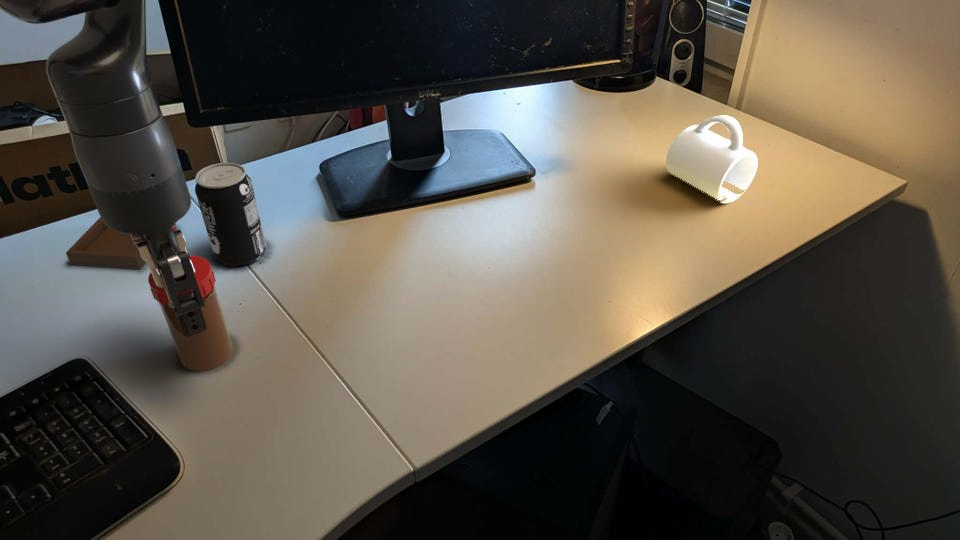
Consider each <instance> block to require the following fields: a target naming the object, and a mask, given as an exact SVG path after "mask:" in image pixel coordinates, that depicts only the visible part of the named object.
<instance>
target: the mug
mask: <svg viewBox="0 0 960 540" xmlns="http://www.w3.org/2000/svg"><path fill="white" fill-rule="evenodd" d="M715 124H721V125H723V126H724V127H725V128H726V129H727V131H728V134H729V139H728V138H725V137H723V136H721V135H719V134H717V133H714V132H713V131H710V130H709V128H710V127H712V126H713V125H715ZM665 168H666V170H667V172H668V173H669V172H670V173H671V174H670V173H669V174H670V175H672V174H673V175H672V176H674V175H675V176H674V177H675V178H677V177H678V178H677V179H679V178H680V179H679V180H681V179H682V180H681V181H683V182H684V181H685V182H684V183H686V182H687V183H686V184H688V183H689V184H688V186H689V185H690V184H691V185H692V186H691V185H690V186H691V187H693V186H694V187H693V188H695V187H696V188H695V189H696V190H698V189H699V190H698V191H700V190H701V191H700V192H701V193H703V194H705V193H707V194H708V195H707V194H706V195H707V196H708V197H710V198H712V197H714V198H715V199H714V198H713V199H714V200H716V199H717V200H716V201H717V202H719V201H718V200H722V199H724V197H725V198H727V199H726V200H725V201H723V202H720V203H721V204H730V203H732V202H734V201H736V200H737V199H738V198H740V197H741V196H742V195H743V193H741V194H735V193H733V192H731V191H729V190H728V189H726V188H724V187H722V184H723V181H726V182H728V183H730V184H732V185H735V187H738V188H739V189H741V190H745V189H746V190H747V189H748V188H749V186H750V184H751V183H752V181H753V179H754V178H755V175H756V172H757V170H758V169H757V168H758V157H757V154H756V153H755V152H753V151H751V150H750V149H747V148H745V147H744V146H743V131H742V128H741V125H740V123H739V122H738V121H737V120H736V119H735V118H734V117H732V116H730V115H727V114H726V115H724V114H723V115H722V114H721V115H715V116H712V117H709V118H707V119H705V120H703V121H702V122H700V123H698V125H697V124H694V125H690V126H687V127H685V128H684V129H683V130H682V131H680V133H678V134H677V135H676V137H675V138H674V139H673V141H672V142H671V144H670V146H669V148H668V151H667V154H666V157H665ZM697 188H698V189H697ZM746 190H745V191H746ZM702 191H703V192H702ZM704 192H705V193H704ZM709 195H710V196H709ZM711 196H712V197H711ZM723 196H724V197H723Z"/></svg>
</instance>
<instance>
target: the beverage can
mask: <svg viewBox="0 0 960 540" xmlns="http://www.w3.org/2000/svg"><path fill="white" fill-rule="evenodd" d="M195 182H196V183H195V187H194V193H195V195H196V199H197V203H198V206H199V209H200V214H201V216H202V220H203V224H204V226H205V229H206V233H207V237H208V241H209V243H210V246H211V247H210V248H211V250H212V253H213V257H214V258H215V260H217V262H220V263H222V264H223V265H224V266H225V265H226V266H228V267H229V266H230V267H244V266H249V265H251V264H253V263H254V262H257V261H258V260H259V259H260V258H261V257H262V255H263V254H264V253H265V251H266V248H267V243H266V237H265V233H264V229H263V225H262V220H261V216H260V212H259V208H258V202H257V200H256V195H255V191H254V186H253V182H252V179H251V177H250V176H249V175H248V174H247V173H246V169H245V167H243V165H241V164H239V163H236V162H235V163H234V162H219V163H214V164H209V165H207V166H205V167H202V168H201V169H200V170H199V171H198V172H197V173H196V175H195Z"/></svg>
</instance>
